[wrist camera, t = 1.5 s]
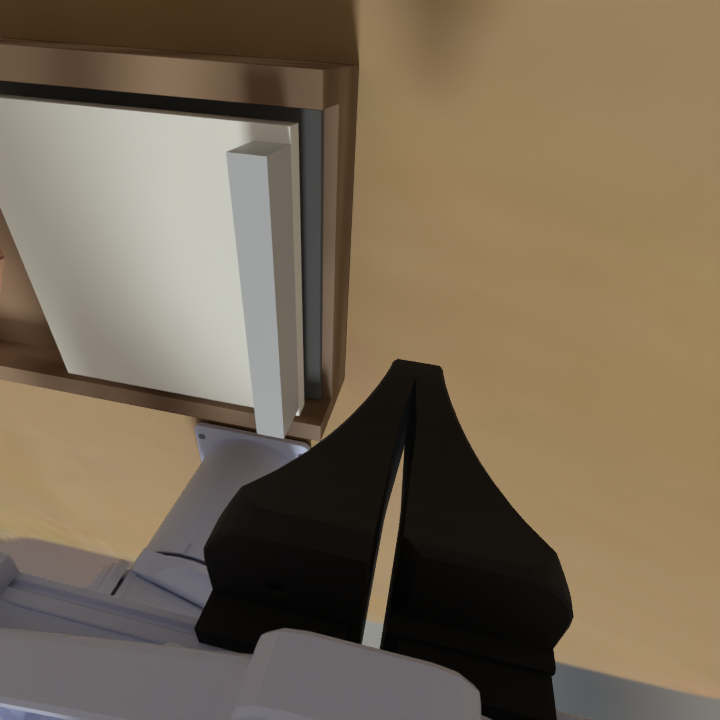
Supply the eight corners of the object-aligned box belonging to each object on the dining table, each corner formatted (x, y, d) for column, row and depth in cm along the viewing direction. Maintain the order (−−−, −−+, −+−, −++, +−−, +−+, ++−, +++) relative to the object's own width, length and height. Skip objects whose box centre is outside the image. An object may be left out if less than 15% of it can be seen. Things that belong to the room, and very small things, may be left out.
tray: (358, 65, 17) (323, 69, 13) (344, 379, 25) (320, 441, 21) (-239, 19, 20) (-414, 11, 16) (-71, 307, 29) (-159, 348, 25)
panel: (324, 109, 15) (321, 110, 15) (321, 394, 22) (319, 399, 22) (-10, 78, 17) (-20, 79, 16) (90, 353, 24) (85, 357, 24)
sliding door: (298, 122, 14) (265, 136, 12) (304, 405, 21) (284, 447, 19) (-26, 91, 16) (-109, 98, 13) (79, 363, 23) (36, 398, 20)
